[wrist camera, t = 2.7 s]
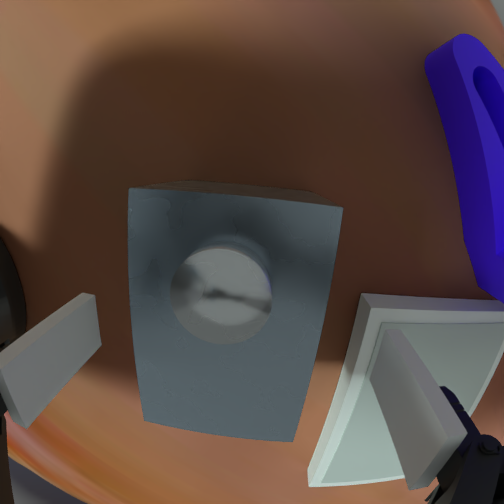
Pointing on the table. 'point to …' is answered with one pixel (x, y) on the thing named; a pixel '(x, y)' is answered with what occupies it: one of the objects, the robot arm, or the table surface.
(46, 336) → the robot arm
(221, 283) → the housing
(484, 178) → the bracket
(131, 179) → the table surface
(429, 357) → the tray
